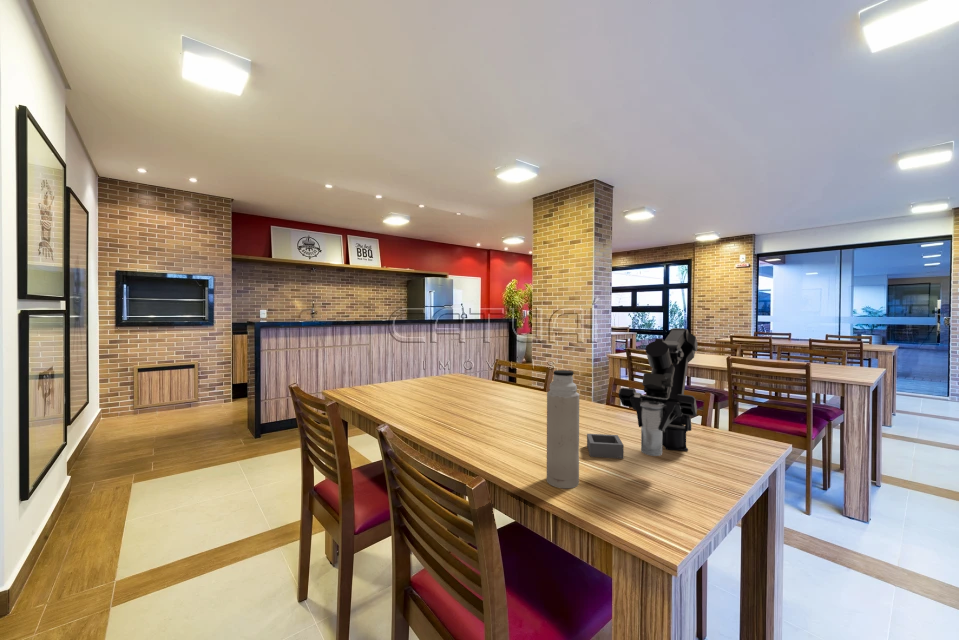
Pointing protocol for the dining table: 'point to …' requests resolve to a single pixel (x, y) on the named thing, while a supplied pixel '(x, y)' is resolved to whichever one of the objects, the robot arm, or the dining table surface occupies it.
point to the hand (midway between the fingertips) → (650, 428)
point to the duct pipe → (651, 427)
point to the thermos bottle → (563, 431)
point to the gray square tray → (605, 446)
